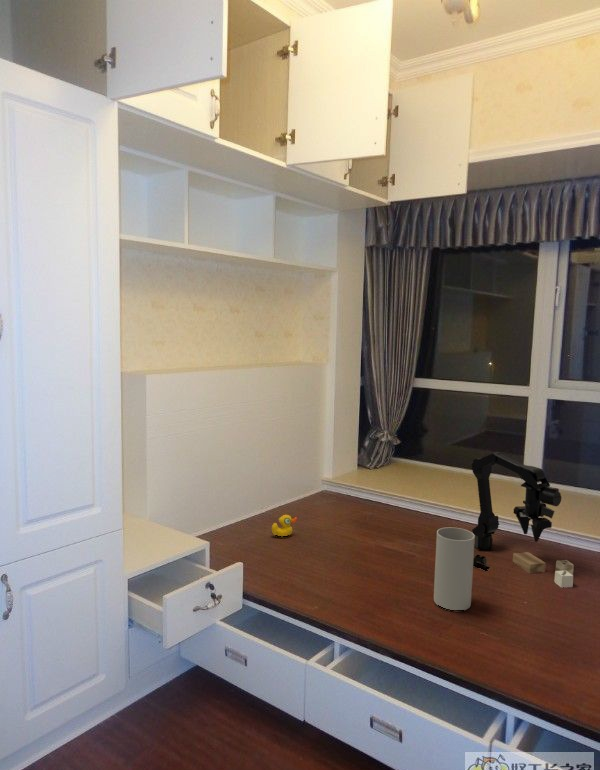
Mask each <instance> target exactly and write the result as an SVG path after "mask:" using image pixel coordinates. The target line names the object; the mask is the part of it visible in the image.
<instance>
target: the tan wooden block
mask: <svg viewBox="0 0 600 770" xmlns="http://www.w3.org/2000/svg"><path fill="white" fill-rule="evenodd" d="M513 562H514V563H513ZM512 563H513V564H514V565H516V564H517V565H516V566H518V567H519V568H521V570H524V571H525V572H527V573H528V574H530V573H531V574H539V573H540V572H541V573H546V565H547V563H546V562H545V561H543V560H542V559H540V558H539V557H537V556H535V555H534V554H532V553H530V552H529V551H525V552H515V553H513V554H512Z"/></svg>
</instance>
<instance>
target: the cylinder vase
mask: <svg viewBox="0 0 600 770" xmlns="http://www.w3.org/2000/svg"><path fill="white" fill-rule="evenodd" d="M474 544H475V535H474V534H473V532H472V531H470V530H468V529H465V528H460V527H448V526H447V527H441V528H439V529H437V531H436V543H435V562H434V563H435V564H434V565H435V566H434V586H433V601H434V603H435V604H436V605H437V606H438V605H439V606H441V607H443V608H446V609H450V610H464V611H467V610H468V609H469V608H470V607H471V605H472V604H471V603H472V587H473V571H474V567H473V559H474V557H475V555H474V554H475V547H474ZM439 606H438V607H439ZM441 607H440V608H441ZM443 608H442V609H443ZM446 609H445V610H446ZM450 610H449V611H450Z"/></svg>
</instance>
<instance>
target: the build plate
mask: <svg viewBox="0 0 600 770" xmlns="http://www.w3.org/2000/svg"><path fill="white" fill-rule="evenodd" d="M486 565H487V556H485V555H484V556H483V555H481V554H476V555H474V557H473V566H475V567H477V568H481V569H483V570H485V571H484V572H486V571H488V570H487V569H489V568H490V567H491V566H490V565H487V566H486ZM489 566H490V567H489ZM477 568H476V569H477ZM483 570H482V571H483Z"/></svg>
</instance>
